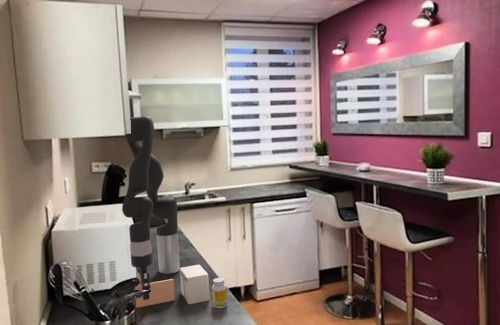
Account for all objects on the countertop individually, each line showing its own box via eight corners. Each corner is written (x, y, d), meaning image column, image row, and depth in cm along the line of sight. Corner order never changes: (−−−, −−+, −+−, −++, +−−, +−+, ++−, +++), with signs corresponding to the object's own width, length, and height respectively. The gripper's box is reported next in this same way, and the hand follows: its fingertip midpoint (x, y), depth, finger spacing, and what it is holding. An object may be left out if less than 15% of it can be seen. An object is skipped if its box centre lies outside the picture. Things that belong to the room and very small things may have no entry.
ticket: (136, 306, 155) (134, 285, 154) (174, 299, 160) (173, 278, 159) (136, 307, 154) (135, 286, 153) (174, 300, 159) (173, 279, 158)
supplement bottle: (209, 305, 154) (207, 280, 153) (220, 300, 157) (218, 275, 156) (219, 310, 150) (218, 283, 149) (230, 304, 154) (229, 279, 153)
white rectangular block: (180, 292, 166) (178, 268, 165) (200, 288, 170) (199, 264, 168) (187, 304, 155) (186, 278, 154) (209, 300, 158) (208, 274, 157)
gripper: (128, 248, 158) (131, 289, 160) (133, 259, 145) (136, 304, 147) (148, 244, 161) (151, 285, 163) (155, 255, 148) (158, 300, 150)
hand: (144, 294), depth 155 cm, fingers open, 8 cm apart
